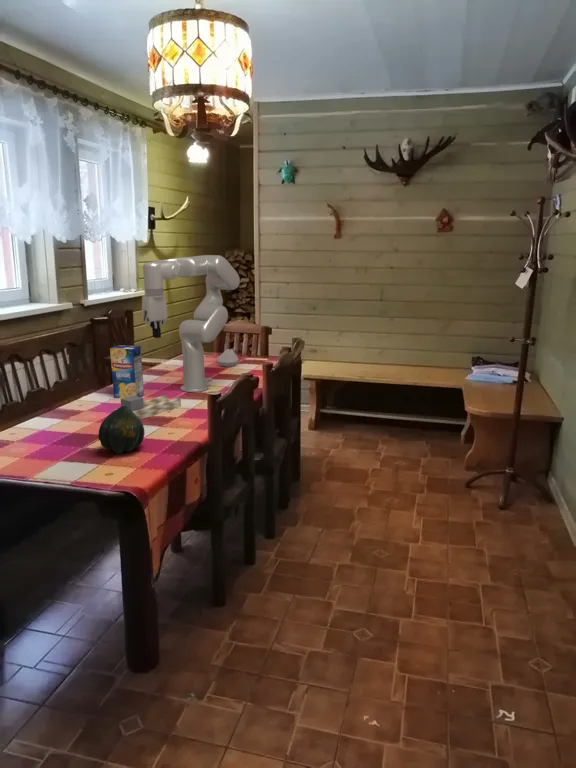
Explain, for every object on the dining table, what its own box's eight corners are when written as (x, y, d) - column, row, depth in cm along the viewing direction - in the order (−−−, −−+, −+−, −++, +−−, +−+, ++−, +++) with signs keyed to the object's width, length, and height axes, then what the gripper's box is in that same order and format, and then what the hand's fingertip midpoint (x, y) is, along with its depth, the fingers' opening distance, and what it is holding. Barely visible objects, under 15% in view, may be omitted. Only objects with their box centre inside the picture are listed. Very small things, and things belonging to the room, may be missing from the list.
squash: (92, 444, 188) (122, 405, 190) (87, 432, 202) (115, 396, 203) (129, 468, 194) (158, 430, 196) (122, 454, 208) (149, 419, 209)
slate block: (134, 410, 238) (133, 395, 237) (144, 412, 235) (143, 397, 233) (121, 413, 234) (120, 398, 232) (131, 416, 230) (130, 401, 229)
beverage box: (136, 399, 260) (133, 349, 254) (113, 397, 263) (109, 348, 257) (144, 395, 266) (140, 346, 261) (121, 393, 269) (118, 345, 264)
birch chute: (165, 403, 253) (165, 395, 252) (181, 406, 248) (180, 398, 247) (114, 418, 233) (113, 409, 232) (129, 422, 228) (129, 413, 227)
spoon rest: (237, 368, 319) (237, 355, 317) (215, 368, 319) (214, 355, 317) (240, 359, 342) (240, 346, 340) (219, 359, 342) (219, 347, 340)
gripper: (161, 291, 255) (164, 334, 260) (133, 294, 244) (136, 339, 248) (174, 292, 251) (176, 335, 255) (145, 295, 239) (148, 341, 244)
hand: (156, 337), depth 252 cm, fingers closed
